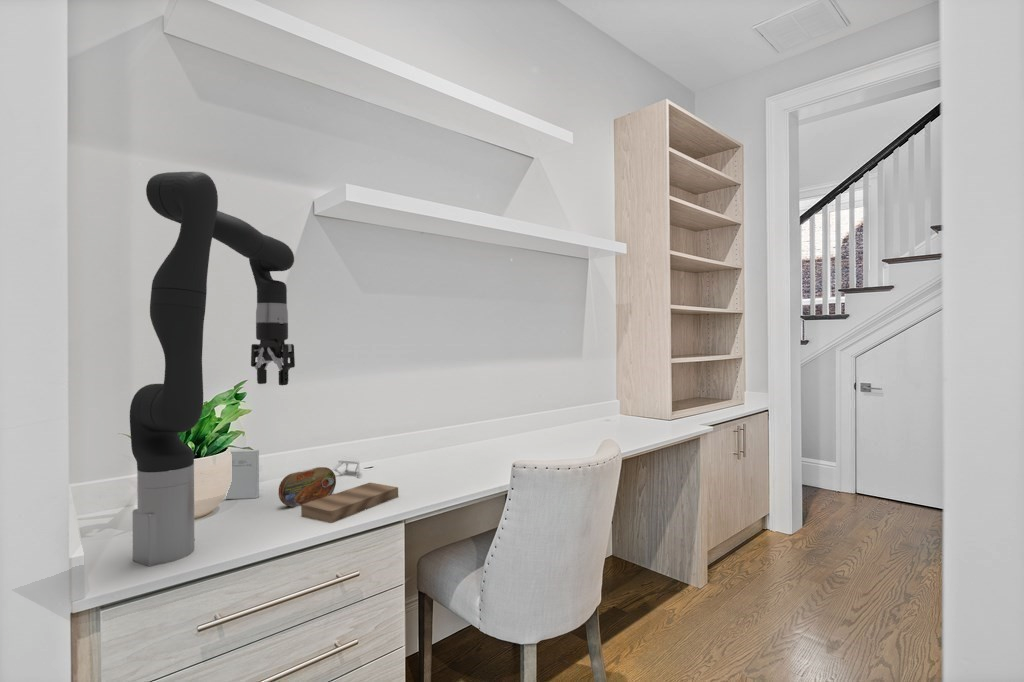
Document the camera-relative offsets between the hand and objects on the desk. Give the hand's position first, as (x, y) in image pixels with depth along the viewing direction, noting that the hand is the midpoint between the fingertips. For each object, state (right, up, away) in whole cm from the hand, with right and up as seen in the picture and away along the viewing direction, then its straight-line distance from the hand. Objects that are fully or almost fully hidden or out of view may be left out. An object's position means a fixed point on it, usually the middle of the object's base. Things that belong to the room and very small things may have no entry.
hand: (272, 384), depth 136 cm
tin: (+9, -30, -1) cm, 32 cm away
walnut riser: (+22, -30, -6) cm, 38 cm away
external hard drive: (-10, -30, +3) cm, 32 cm away
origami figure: (+12, -30, +26) cm, 42 cm away
